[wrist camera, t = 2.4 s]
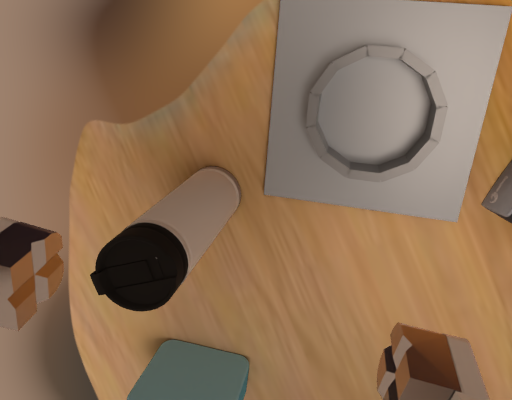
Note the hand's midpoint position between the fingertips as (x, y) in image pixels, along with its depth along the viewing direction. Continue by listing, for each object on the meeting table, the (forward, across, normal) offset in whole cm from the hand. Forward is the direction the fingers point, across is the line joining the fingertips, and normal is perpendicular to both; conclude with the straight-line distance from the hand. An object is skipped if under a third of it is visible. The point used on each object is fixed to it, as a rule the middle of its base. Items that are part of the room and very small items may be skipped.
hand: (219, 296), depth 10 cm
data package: (+32, -5, -40) cm, 52 cm away
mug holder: (+36, +6, -4) cm, 37 cm away
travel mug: (+35, -8, -16) cm, 40 cm away
